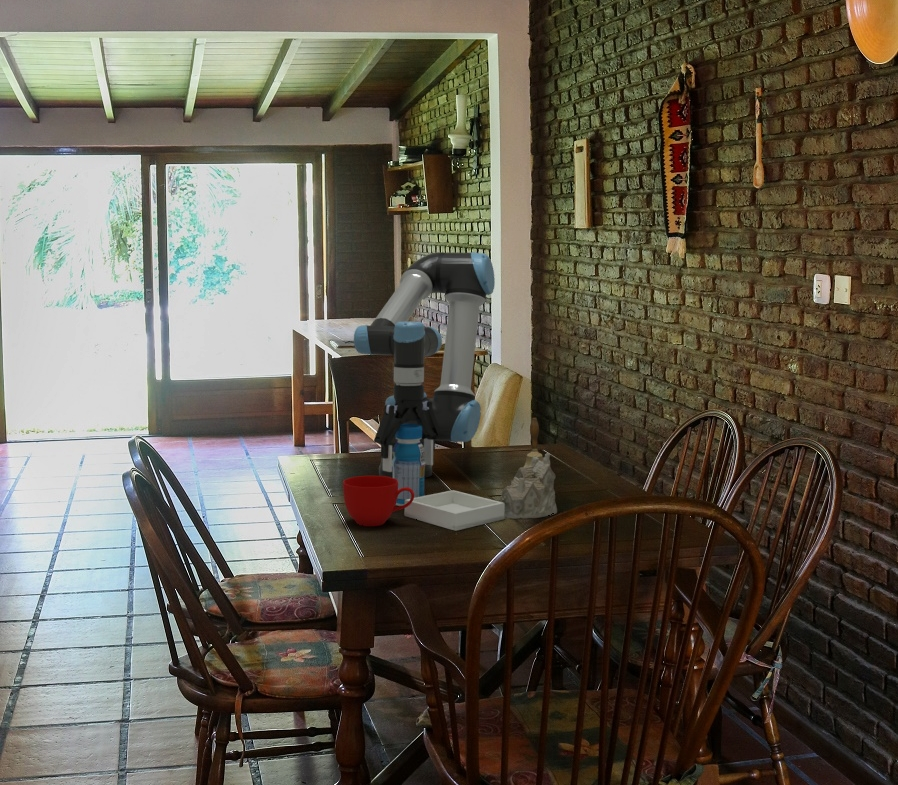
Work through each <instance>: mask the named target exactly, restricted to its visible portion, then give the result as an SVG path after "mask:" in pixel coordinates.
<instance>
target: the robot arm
mask: <svg viewBox="0 0 898 785" xmlns="http://www.w3.org/2000/svg"><path fill="white" fill-rule="evenodd" d="M495 279H496V278H495V270H494V266H493V263H492V260H491V258H490V256H488V255H487V254H486V253H483V252H480V253H479V252H474V251H472V252H441V251H438V252H434V253H433V252H431V253H430V254H427V255H425V256H423V257H421V258H418V259H417V260H416V261H414V262H413V263H412V264H411V265H409V266H408V267H407V268H406V269H405V270H404V272H403V274H402V275H401V277H400V279H399V285H398V287H396V289H395V291H394V292H393V293H392V295H391V296H390V297H389V299H388V301H387V302H386V303H385V304H384V306H383V307H382V308H381V310H380V312H379V313H378V314H377V316H376V317H375V319H374V320H373V321H372V323H371V324H370V325H368V324H365V325H359V326H357V327H356V328H355V331H354V334H353V345H354V349H355V350H356V352H357V353H359V354H363V355H370V356H375V355H376V356H393V383H394V385H393V395H390V396H388V397H387V398H386V399H385V402H384V403H385V404H384V410H383V415H382V418H381V419H380V423H379V426H378V428H377V430H376V433H375V437H374V439H373V442H374V443H376V444H377V445H380V458H381V460H380V464H379V466H378V476H386V477H391V478H393V467H392V460H393V458H394V456H393V454H392V452H393V448H394V446H395V444H396V443H397V441H398V439H396V437H395V434H396V433H397V431H398V429H399V428H400V426H401V425H402V424H418V425H421V426H422V439H420V442H421V443H422V445H423V447H424V450H425V454H424V459H425V472H424V479H425V478H429V477H431V476H432V475H433V465H434V452H435V451H436V441H442V442H443V441H444V442H452V443H458V442H460V443H467V442H469V441H471V440H472V439H473V438H474V436H475V435H476V434H477V432H478V428H479V426H480V425H479V424H480V422H481V414H482V413H481V410H482V409H481V404H480V402H479V401H477V400H476V395H475V393H474V392H473V390H472V380H473V372H474V370H473V369H474V362H475V361H474V360H475V354H476V345H477V344H476V342H477V335H478V334H477V333H478V325H479V316H480V308H481V307H482V306H483V305H484V304H485V303H486V300H487V296H490V295H492V294H493V293H494V290H495V284H496V283H495ZM431 294H445V295H444V298H445V300H446V301H447V302H448V304H449V306H448V315H447V324H446V333H445V342H444V349H443V350H444V351H443V358H442V369H441V377H440V384H439V386H438V387H437V388H436V389H434V391H433V398H430V397H428V395H427V393H426V392H425V387H424V384H423V383H424V382H425V357H426V358H427V357H431V356H433V355H435V354H436V353H437V352H439V351H440V349H441V347H442V345H443V339H442V335H441V333H440V332H439V331H438V330H437V329H436V328H434V327H432V326H425V325H424V323H423V322H421V321H411V320H410V319H411V317H412V315H413V314H414V313H415V312H416V310H417V308H418V307H419V305H420V303H421V302H422V301H423V300H426V299H427V298H428V297H429V296H430V295H431ZM409 320H410V321H409ZM427 397H428V398H427Z"/></svg>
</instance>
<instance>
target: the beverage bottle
mask: <svg viewBox="0 0 898 785" xmlns="http://www.w3.org/2000/svg"><path fill="white" fill-rule="evenodd" d="M395 437H396V439H398V441H397V443H396V444H395V446H394V448H393V452H392V454H393V456H394V458H393V460H392V467H393V478H395V479H397V480H398V490H399V489H401V488H404V487H408V488H411V489H412V490H413V492H414V498H416V497H421V496H425V478H424V472H425V459H424V454H425V450H424V447H423V445H422V443H421V442H420V439H422V426H421V425H418V424H402V425H401V426H400V428H399V429H398V431H397V433H396V434H395ZM406 499H411V493H410V492H409V491H402V492H401V493H400V494H399V495H398V497H397V501H396V505H395V506H396V507H400V506H403V505H405V500H406Z"/></svg>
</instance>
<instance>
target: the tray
mask: <svg viewBox="0 0 898 785" xmlns="http://www.w3.org/2000/svg"><path fill="white" fill-rule="evenodd" d="M409 501H410V499H406V500H405V504H407V503H408V502H409ZM504 508H505V503H503V502H502V501H498V500H494V499H490V498H486V497H482V496H479V495H475V494H471V493H465V492H462V491H458V490H454V489H452V490H447V491H442V492H438V493H437V492H435V493H433V494H427V495H424V496H421V497H416V498H414V500H413V501H412V503H411V504H410V505H409V506H407V507H406V508H404V517H406V518H410V519H414V520H416V519H417V520H418V521H421V522H423V523H427V524H430V525H435V526H437V527H442V528H445V529H448V530H452V531H460V530H464V529H469V528H473V527H476V526H477V527H478V526H482V525H486V524H490V523H494V522H499V521H503V520H505V517H504Z"/></svg>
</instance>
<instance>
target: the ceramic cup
mask: <svg viewBox="0 0 898 785" xmlns="http://www.w3.org/2000/svg"><path fill="white" fill-rule="evenodd" d="M342 490H343V492H342V493H343V499H344V504H345V507H346V510H347V512H348V515H350V517H351V518H352V520H353V521H355V522H356V525H358V524H359V525H358V526H362V525H363V527H378V526H383V525H384V524H386V522H387V520H389V518H390V517H391V515H392V514H393V513H394V512H396V511H400V510H403V509H405V508H406V507H407V506H409V505H410V504H411V503H412V501H413V500H414V492H413V490H412V489H411V488H408V487H404V488H401V489H399V490H398V480H397V479H395V478H391V477H386V476H380V475H358V476H352V477H348V478H345V479H344V480H343V481H342ZM402 491H409V492H410V493H411V499H410V501H409V502H408V503H407V504H405V505H403V506H397V505H396V501H397V497H398V495H399V494H400V493H401V492H402Z"/></svg>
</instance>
